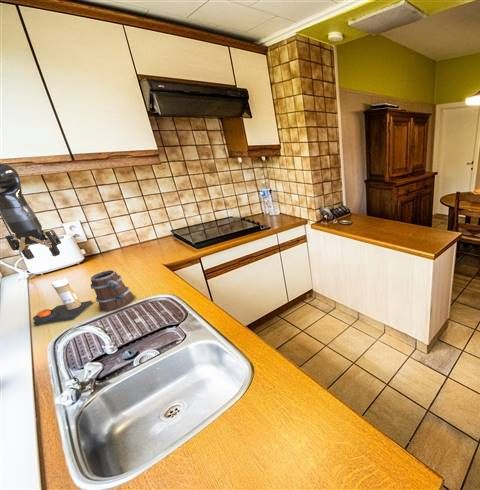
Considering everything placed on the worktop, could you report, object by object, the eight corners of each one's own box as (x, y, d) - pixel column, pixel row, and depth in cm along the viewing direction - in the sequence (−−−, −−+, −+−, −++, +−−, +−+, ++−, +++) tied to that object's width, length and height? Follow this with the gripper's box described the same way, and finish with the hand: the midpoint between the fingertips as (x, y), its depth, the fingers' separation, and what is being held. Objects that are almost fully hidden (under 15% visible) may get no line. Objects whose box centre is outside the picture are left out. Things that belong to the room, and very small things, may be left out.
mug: (95, 307, 118) (78, 278, 112) (127, 293, 127) (113, 265, 121) (112, 316, 111) (95, 286, 105) (144, 300, 121) (131, 272, 115)
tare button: (36, 318, 108) (33, 315, 107) (43, 313, 111) (41, 309, 110) (46, 317, 108) (44, 313, 108) (54, 311, 112) (52, 308, 111)
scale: (32, 326, 107) (28, 320, 106) (57, 308, 118) (53, 302, 117) (71, 320, 110) (68, 314, 109) (92, 303, 121) (89, 297, 120)
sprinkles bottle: (84, 303, 119) (69, 277, 113) (76, 309, 115) (60, 282, 109) (72, 305, 118) (56, 279, 112) (63, 311, 114) (47, 284, 108)
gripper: (52, 213, 104) (72, 250, 111) (7, 217, 102) (31, 255, 108) (34, 219, 98) (57, 258, 104) (-14, 223, 95) (13, 263, 101)
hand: (44, 257), depth 106 cm, fingers open, 8 cm apart
